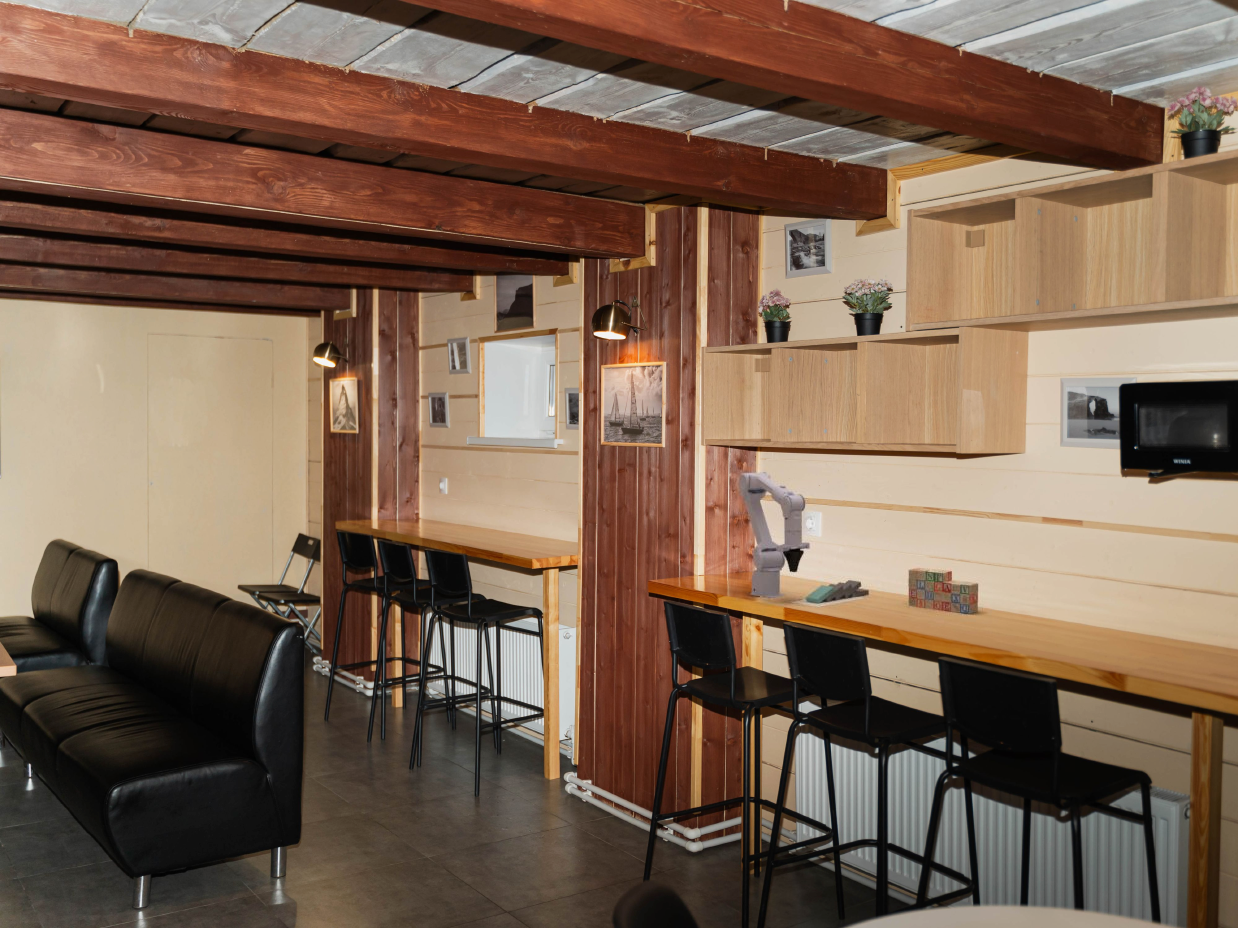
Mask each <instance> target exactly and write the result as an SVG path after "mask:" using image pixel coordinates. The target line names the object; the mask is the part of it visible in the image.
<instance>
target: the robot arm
mask: <svg viewBox="0 0 1238 928" xmlns="http://www.w3.org/2000/svg"><path fill="white" fill-rule="evenodd" d="M737 483H738V488H739V491H740V496H741V498H742V499H743V501H744V504H745V507H746V510H747V513H748V517H749V521H750V525H751V527H752V531H753V534H754V537H755V541H756V544H757V545H756V546H755V547H754V548H753V551H752V556H753V566H754V567H755V568H756V569H755V570H754V571H753V572H752V574H751V593H750V594H749V595H750V596H754V597H755V596H756V597H764V598H767V599H768V598H772V599H773V598H777V597H783V596H785V595H786V594H784V593H781V588H780V587H781V582H780V579H781V577H780V576H781V572H780V571H782V569H783V568H784V566H785V564H786V563H787V566H788V570H789V572H790V573H797V572H798V569H799V564H800V562H801V559H802V557H803V555H804V553H805V549H807V550H809V549H810V548H811V547H810V546H811V545H810V544H811V543H810V542H803V536H802V535H803V532H802V531H803V527H802V526H803V525H802V523H803V520H802V519H803V516H802V515H803V514H802V512H804V511H805V509H806V500H805V497H804V496H803V495H802V494H795V493H794V492H793V491H792V490H789V488H787V486H786V485H784V484H780V485H778V484H777V483H775V481H773V480H772V479H771V475H770V474H769V473H767V472H766V471H761V472H742V473H741V474H740V475H739V478H738V482H737ZM767 492H768V493H770V495H771V498H772V500H773V501H775V502H776V503H777V504H779V505H780V508H781V511H782V517H783V518H784V519H783V520H784V521H783V522H784V523H783V524H784V525H783V526H784V530H783V531H784V534H783V535H784V544H783V543H782V544H777V543H776V542H774V541H773V539H772V537H771V536H772V535H771V532H770V529H769V526H768V522H767V520H766V517H765V516H766V515H765V513H764V510H763V506H762V504H761V500H762V499H764V498H765V497H766V495H767Z"/></svg>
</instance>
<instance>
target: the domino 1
mask: <svg viewBox="0 0 1238 928" xmlns="http://www.w3.org/2000/svg"><path fill="white" fill-rule="evenodd" d="M834 591H835V590H834V587H830V586H829V585H823V584H822V585H820V586H819V587H817V588H815V589H814V591H812V592H811V593H810V594H808V595H807V596H805V599H806V601H807V602H812V603H818V604H819V603H820V602H821V601H823V600H824V599H825V598H827V597H828V596H829V595H831V594H832V593H833V592H834Z"/></svg>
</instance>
